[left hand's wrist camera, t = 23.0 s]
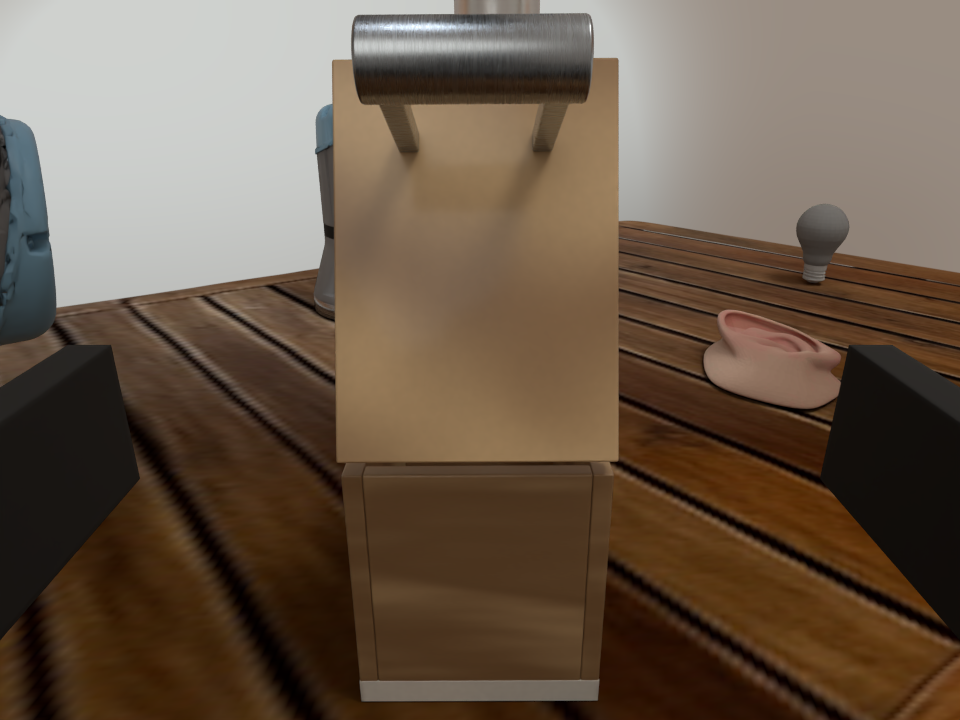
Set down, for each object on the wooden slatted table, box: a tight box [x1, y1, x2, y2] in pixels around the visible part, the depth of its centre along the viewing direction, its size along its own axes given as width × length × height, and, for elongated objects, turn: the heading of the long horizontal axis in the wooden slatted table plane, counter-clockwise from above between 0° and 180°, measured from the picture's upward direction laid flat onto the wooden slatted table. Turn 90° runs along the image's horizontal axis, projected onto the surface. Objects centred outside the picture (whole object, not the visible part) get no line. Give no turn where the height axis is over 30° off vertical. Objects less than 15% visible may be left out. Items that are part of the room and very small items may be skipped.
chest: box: [341, 462, 614, 701], centre depth 32 cm, size 13×10×11 cm
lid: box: [332, 13, 618, 463], centre depth 20 cm, size 14×10×9 cm
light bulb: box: [796, 204, 849, 283], centre depth 87 cm, size 6×6×10 cm
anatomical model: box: [704, 310, 841, 409], centre depth 59 cm, size 13×4×12 cm
